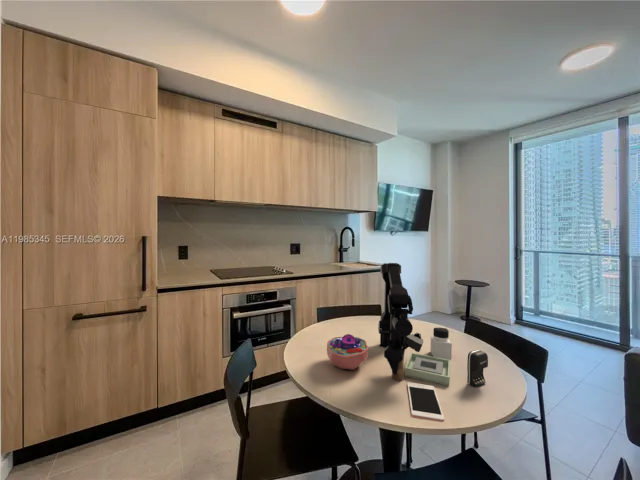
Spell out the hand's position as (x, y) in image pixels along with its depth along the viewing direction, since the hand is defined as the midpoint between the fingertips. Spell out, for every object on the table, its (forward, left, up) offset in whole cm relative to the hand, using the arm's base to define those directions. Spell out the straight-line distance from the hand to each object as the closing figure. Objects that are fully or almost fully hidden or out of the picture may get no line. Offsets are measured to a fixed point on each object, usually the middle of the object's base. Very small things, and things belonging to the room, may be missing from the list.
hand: (397, 368), depth 101 cm
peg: (0, 0, -4) cm, 4 cm away
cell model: (-20, +1, -4) cm, 20 cm away
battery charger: (+26, +9, -4) cm, 28 cm away
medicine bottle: (+13, +28, -4) cm, 31 cm away
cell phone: (+10, -10, -4) cm, 15 cm away
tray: (+10, +10, -3) cm, 14 cm away
